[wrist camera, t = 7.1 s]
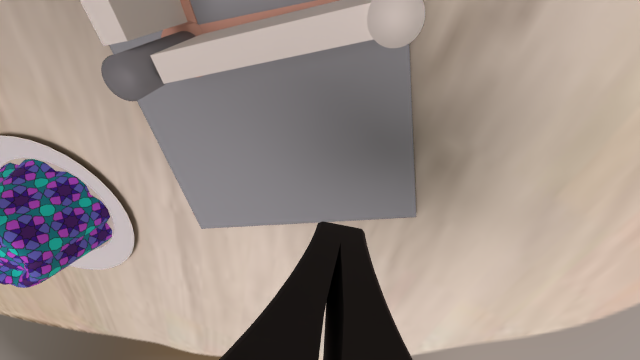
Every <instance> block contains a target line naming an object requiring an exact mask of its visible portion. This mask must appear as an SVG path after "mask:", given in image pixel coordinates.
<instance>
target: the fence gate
mask: <svg viewBox="0 0 640 360" xmlns="http://www.w3.org/2000/svg"><path fill="white" fill-rule="evenodd" d="M424 21H425V6H424V3H423V0H339V1H335V2H331V3H326V4H322V5H318V6H314V7H310V8H306V9H302V10H298V11H294V12H290V13H286V14H282V15H278V16H274V17H270V18H265V19H261V20H257V21H253V22H249V23H245V24H241V25H237V26H233V27H229V28H225V29H221V30H217V31H213V32H209V33H204V34H201V35H198V36H196V37H193V38H191V39H189V40H186V41H184V42H181V43H179V44H176V45H174V46H172V47H169V48H167V49H164V50H162V51H159V52H157V53H154V54H152V55H150V56H151V58H152V61H153V63H154V65H155V67H156V69H157V71H158V73H159V75H160V77H161V79H162V81H163V83H164V84H165V83H170V82H175V81H180V80H184V79H189V78H194V77H199V76H203V75H208V74H213V73H218V72H222V71H227V70H232V69H236V68H241V67H246V66H251V65H255V64H260V63H265V62H270V61H274V60H279V59H284V58H288V57H293V56H298V55H303V54H307V53H312V52H317V51H322V50H326V49H331V48H336V47H340V46H345V45H350V44H355V43H359V42H364V41H369V40H375V41H376V42H377V43H378V44H380V45H381V46H383V47H386V48H400V47H403V46H405V45H407V44H409V43H410V42H412V41H413V40H414V39H415V38H416V37H417V36H418V34H419V33H420V31H421V29H422V27H423V25H424Z"/></svg>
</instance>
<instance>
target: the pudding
mask: <svg viewBox="0 0 640 360" xmlns="http://www.w3.org/2000/svg"><path fill="white" fill-rule="evenodd" d="M16 158H33V159H28V160H24V161H23V162H22V163H21V164H20V165H16V164H12V163H8V164H6V165H4V166H3V167H2V165H3V164H5V163H6V162H7V161H10V160H13V159H16ZM35 159H38V160H42V161H46V162H48V163H51V164H54V165H56V166H58V167H61V168H63V169H65V170H67V171H68V172H70V173H71V174H73V175H75V176H76V177H75V176H73V175H71V174H70V173H68V172H59V171H55V170H54V169H52V168H51V167H50V166H49V165H47V164H46V163H44V162H41V161H38V160H35ZM1 167H2V168H1ZM0 168H1V169H0V283H1V284H4V285H5V284H12V285H14V286H16V287H23V288H25V287H31V286H34V285H37V284H39V283H41V282H43V281H45V280H46V279H48V278H50V277H51V276H53V275H54V274H56V273H58V272H59V271H61V270H62V269H64V268H65V267H67V266H73V267H77V268H82V269H91V270H103V269H108V268H113V267H115V266H118V265H120V264H122V263H123V262H124V261H126V260H127V259H128V257H129V256H130V255H131V253H132V250H133V247H134V232H133V227H132V224H131V222H130V219H129V217H128V215H127V213H126V211H125V210H124V208H123V207H122V205H121V203H120V202H119V201H118V199H117V198H116V197H115V196H114V194H113V193H112V192H111V191H110V190H109V189H108V188H107V187H106V186H105V185H104V184H103V183H102V182H101V181H100V180H99V179H98V178H97V177H96V176H95V175H93V174H92V173H91V172H90V171H88V170H87V169H86V168H84V167H83V166H82V165H80V164H79V163H77V162H76V161H74V160H72V159H71V158H69V157H68V156H66V155H64V154H62V153H60V152H58V151H56V150H54V149H52V148H50V147H48V146H45V145H43V144H40V143H37V142H35V141H32V140H28V139H23V138H19V137H14V136H0ZM77 177H78V178H79V179H80V180H79V179H78V178H77ZM81 180H82V181H83V182H84V183H86V184H87V185H88V186H89V187H90V188H91V189H92V190H93V191H94V192H95V193H96V194H97V195H98V196H99V197H100V198H101V200H102V201H103V202H104V204H105V205H106V207H107V208H108V209H107V208H106V207H105V205H104V204H103V203H102V202H101V201H100V200H98V199H97V198H95V197H93V196H91V195H90V193H89V191H88V189H87V186H86V185H85V184H84V183H83V182H82V181H81ZM108 210H109V212H110V214H111V216H112V220H113V223H114V233H113V237H112V230H111V228H110V227H109V225H108V224H107V223H106V222H107V220H108V219H109V218H110V215H109V212H108ZM111 237H112V239H111V240H110V242H109V243H108V244H106V245H105V246H103V247H101V248H97V247H98V246H100V245H102V244H103V243H105V242H106V241H108V240H109V239H110V238H111ZM95 248H97V249H95Z"/></svg>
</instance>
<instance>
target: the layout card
mask: <svg viewBox="0 0 640 360" xmlns="http://www.w3.org/2000/svg"><path fill="white" fill-rule="evenodd" d="M335 1H339V0H180V2H181V5H182V8H183V10H184V13H185V16H186V18H187V21H188V22H186V23H183V24H180V25H177V26H174V27H170V28H167V29H164V30H161V31H158V32H155V33H151V34H148V35H145V36H142V37H139V38H136V39H132V40H129V41H125V42H120V43H116V44H111V45H109V46H110V48H111V50H112V52H113V54H117V53H120V52H123V51H126V50H128V49H131V48H134V47H137V46H140V45H143V44H145V43H148V42H151V41H154V40H157V39H160V38H163V37H165V36H168V35H171V34H174V33H177V32H180V31H187V32H190V33H192V34H194V35H195V36H198V35H201V34H204V33H209V32H213V31H217V30H221V29H225V28H229V27H233V26H237V25H241V24H245V23H249V22H253V21H257V20H261V19H265V18H270V17H274V16H278V15H282V14H286V13H290V12H294V11H298V10H302V9H306V8H310V7H314V6H318V5H322V4H326V3H331V2H335ZM137 102H138V104H139V106H140V108H141V110H142V112H143V114H144V116H145V118H146V120H147V122H148V124H149V126H150V128H151V130H152V131H153V133H154V135H155V137H156V139H157V141H158V143H159V145H160V147H161V149H162V151H163V153H164V155H165V157H166V159H167V161H168V163H169V165H170V167H171V169H172V171H173V173H174V175H175V177H176V179H177V181H178V183H179V185H180V187H181V189H182V191H183V193H184V195H185V197H186V199H187V201H188V203H189V205H190V207H191V209H192V211H193V213H194V215H195V217H196V219H197V221H198V223H199V225H200V227H201V229H205V228H223V227H242V226H260V225H278V224H297V223H315V222H322V221H323V222H334V221H352V220H371V219H389V218H407V217H416V198H415V174H414V149H413V124H412V100H411V75H410V50H409V44H407V45H405V46H403V47H400V48H386V47H383V46H381V45H380V44H378V43H377V42H376V41H375V40H369V41H364V42H359V43H355V44H350V45H345V46H340V47H336V48H331V49H326V50H322V51H317V52H312V53H307V54H303V55H298V56H293V57H288V58H284V59H279V60H274V61H270V62H265V63H260V64H255V65H251V66H246V67H241V68H236V69H232V70H227V71H222V72H218V73H213V74H208V75H203V76H199V77H194V78H189V79H184V80H180V81H175V82H170V83H167V84H165V85H164V86H162V87H160V88H159V89H157V90H155V91H153V92H152V93H150V94H148V95H147V96H145V97H143V98H141V99H140V100H137Z"/></svg>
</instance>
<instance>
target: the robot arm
mask: <svg viewBox="0 0 640 360" xmlns="http://www.w3.org/2000/svg"><path fill="white" fill-rule="evenodd" d="M325 306H326V319H325V337H324V356H323V360H412V358H411V356H410V354H409V352H408V350H407V348H406V346H405V344H404V342H403V340H402V338H401V336H400V333H399V331H398V329H397V327H396V325H395V322H394V320H393V318H392V315H391V313H390V311H389V309H388V306H387V304H386V301H385V299H384V296H383V293H382V291H381V288H380V285H379V283H378V280H377V277H376V274H375V271H374V268H373V265H372V262H371V258H370V255H369V251H368V247H367V243H366V239H365V233H364V231H363V230H362V229H359V228H354V227H349V226H343V225H338V224H333V223H328V222H323V221H322V222H320V223H318V225H317V228H316V231H315V233H314V236H313V238H312V240H311V242H310V244H309V246H308V247H307V249H306V251H305V253H304V255H303V256H302V258H301V259H300V261H299V263H298V264H297V266H296V267H295V269H294V270H293V272H292V273H291V275H290V276H289V278H288V279H287V281H286V282H285V283H284V285H283V286H282V287H281V289H280V290H279V292H278V293H277V294H276V296H275V297H274V298H273V300H272V301H271V302H270V303H269V305H268V306H267V307H266V308H265V310H264V311H263V312H262V313H261V314H260V316H259V317H258V318H257V319H256V320H255V321H254V323H253V324H252V325H251V326H250V327H249V328H248V329H247V331H246V332H245V333H244V334H243V335H242V336H241V337H240V338H239V339H238V340H237V341H236V343H235V344H234V345H233V346H232V347H231V348H230V349H229V350H228V351H227V352H226V353H225V354H224V355H223V356H222V357H221V358H220V359H219V360H318V358H319V350H320V342H321V333H322V325H323V317H324V311H325Z"/></svg>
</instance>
